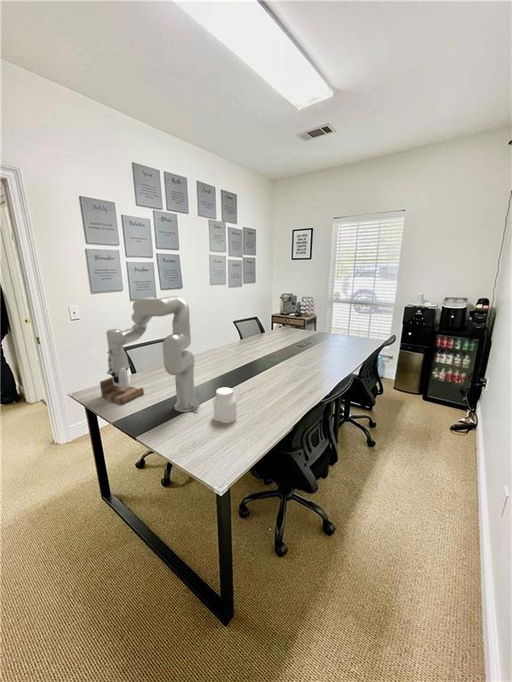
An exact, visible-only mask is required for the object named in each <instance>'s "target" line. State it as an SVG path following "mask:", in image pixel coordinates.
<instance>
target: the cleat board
mask: <svg viewBox="0 0 512 682" xmlns="http://www.w3.org/2000/svg"><path fill="white" fill-rule="evenodd" d="M99 385H100V391H101V398H102V399H105V400H108V401H111V402H115V403H117V404H121V405H126V404H128V403H131V402H132V401H135V400H136V399H138V398H141V397H142V396H144V395H145V392H144V387H140V388H138V387H134V386H128V387H127V388H120V387H117V386H114V385H113V379H112V376H111V377H109V378H107V379H104V380H101V381H99Z"/></svg>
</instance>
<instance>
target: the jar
mask: <svg viewBox="0 0 512 682" xmlns="http://www.w3.org/2000/svg"><path fill="white" fill-rule="evenodd" d="M215 391H216V393H215V394H216V395H215V396H214V397H213V399H212V403H213V420H214V421H216V422H219V421H220V423H222V422H223V424H224V423H228V424H231V423H234V422H235V421H236V420H237V418H236V417H238V415H237V398H236V396H235V395H234V390H233V388H230V387H226V386H223V387H219V388H217V389H216V390H215ZM235 419H236V420H235ZM234 420H235V421H234ZM230 422H231V423H230Z"/></svg>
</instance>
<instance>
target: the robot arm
mask: <svg viewBox="0 0 512 682" xmlns="http://www.w3.org/2000/svg"><path fill="white" fill-rule="evenodd" d="M132 311H133V313H132V315H131V320H132V321H133V323H134V324H133V325H132V326H131V327H130V328H126V329H124V330H121V329H120V328H112V329H108V330H106V332H105V333H106V341H107V347H108V351H107V354H108V357H107V363H108V364H107V367H108V370H107V372H106V374H107V375H110V376H111V377H112V376H113V379H114V382H115V383H119V379H118V376H117V372H119V370H120V368H122V367H123V368H125V369H126V370H127V371H128V370H129V368H130V366H131V365H130V363H129V360H128V355H127V353H126V351H125V349H124V346H125V345H128V344H130V343H133V342H136V341H138V340H139V339H140V338H141V337H142V336H143V335H144V334H145V332H146V331H147V327H148V325H147V324H148V323H149V322H150V321H151V319H152V318H153V317H166V316H168V315H169V316H170V315H173V317H172V322H171V323H172V324H171V327H172V333H170V334H169V335H167V336H166V337H165V338H164V340H163V341H162V353H163V366H164V369H165V371H166V372H167V373H168V374H169V375H171V376H175V377H174V378H175V392H176V393H175V394H176V395H175V396H176V403H175V404H174V406H173V407H174V410H175V411H177V412H179V413H189V412H192V411H194V410H196V409H199V408H200V406H201V402H198V401H197V398H196V395H195V394H196V393H195V392H196V391H195V374H194V371H195V355H194V353H192V352H191V351H189V350H186V349H187V348H189V347H190V345H191V343H192V341H191V340H192V339H191V324H190V323H191V322H190V316H191V315H190V307H189V305H188V303H187V302H186V301H185V300H184V299H183V298H182V297H179V296H175V295H171V296H166V297H160V298H156V297H155V296H145V297H139V298H137V299H136V300H134V302H133V304H132ZM111 371H112V372H111Z"/></svg>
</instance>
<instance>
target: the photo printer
mask: <svg viewBox="0 0 512 682" xmlns="http://www.w3.org/2000/svg"><path fill="white" fill-rule="evenodd" d="M111 373H112V371H111ZM117 376H118V379H119V383H115V382H114V379H113V376H112V375H111V377H112V379H113V385H114V386H117V387H120V388H127V387H128V386H129V385H130V384H129V376H128V370H126V369H125V368H123V367H122V368H120V370H119V372H117Z"/></svg>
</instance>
